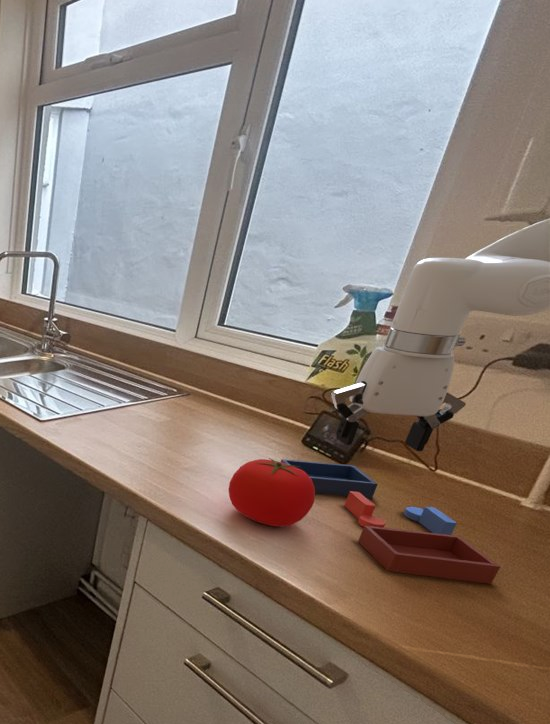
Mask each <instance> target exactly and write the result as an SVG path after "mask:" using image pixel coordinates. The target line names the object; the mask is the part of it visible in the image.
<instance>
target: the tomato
mask: <svg viewBox="0 0 550 724" xmlns="http://www.w3.org/2000/svg"><path fill="white" fill-rule="evenodd" d="M296 467H300V466H296ZM296 467H294V466H293V465H288V464H285V463H282V462H281V461H277V460H274V459H272V458H270V457H268V459H266V458H265V459H264V458H260V459H254V460H251V461H250V460H249V461H248V462H245V463H243V464H242V465H241V466H239V468H237V470H236V471H235V472H234V473H233V475H232V477H231V478H230V481H229V484H228V496H229V500H230V503H231V505H232V506H233V507H234V509H236V511H237V512H238V513H240V514H242V515H243V516H244V517H246V518H248V519H250V520H252V521H255V522H257V523H261V524H263V525H267V526H270V527H271V526H273V527H288V526H293V525H294V524H297V523H298V522H300V521H302V520H303V519H304V518H305V517H306V515H308V513H309V512H310V511H311V509H312V508H313V505H314V502H315V498H316V497H315V495H316V493H315V489H314V484H313V482H312V479H311V478H310V476H309V475H308V474H307V473H306V472H305V471H303V470H301V469H298V468H296Z"/></svg>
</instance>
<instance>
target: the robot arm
mask: <svg viewBox="0 0 550 724" xmlns="http://www.w3.org/2000/svg"><path fill="white" fill-rule="evenodd" d="M549 310H550V217H549V218H547V219H544V220H541V221H539V222H536V223H534V224H531V225H529V226H526V227H523V228H521V229H518V230H516V231H515V232H511V233H510V234H508V235H506V236H504V237H503V238H500V239H498V240H496V241H494V242H493V243H491V244H489V245H487V246H484V247H483V248H481V249H479V250H477V251H476V252H474V253H472V254H470V255H469V256H467V257H465V258H459V257H428V258H423V259H421V260H419V261H418V262H416V264H415V265H414V266H413V268H412V270H411V272H410V275H409V277H408V280H407V283H406V285H405V288H404V291H403V293H402V296H401V299H400V302H399V304H398V306H397V309H396V312H395V315H394V317H393V319H392V322H391V325H390V327H389V330H388V333H387V336H386V337H385V341H384V343H383V345H382V346H376V347H375V348H374V349H373V351H372V352H371V354H370V355H369V357H368V358H367V360H366V361H365V363H364V365H363V366H362V369H361V371H360V372H359V374H358V376H357V379H356V380H355V382H354V384H352V385H349V386H346V387H342V388H339V389H336V390H333V391H331V393H330V397H331V400H332V404H333V405H332V407H333V408H334V410H336V411H337V413H338V415H339V416H340V417H341V418H340V420H339V421H340V422H339V424H338V427H337V429H336V433H335V435H336V439H337V440H338V441H340V442H341V443H342V444H344V445H345V446H351V445H352V444H353V442H354V439H355V438H356V437H355V436H356V434H357V431H358V429H359V426H360V423H359V422H357V420H359V419H361V418H363V417H364V416H366V415H368V414H369V413H372V414H373V413H374V414H382V415H384V414H385V415H393V416H394V415H395V416H407V417H408V416H409V417H416V418H417V420H418V421H414V422H413V423H412V425H411V427H410V429H409V432H408V434H407V435H406V439H405V441H404V444H405V445H406V446H408V447H410V448H411V449H412V450H415V452H423V451H424V448H425V446H426V445H427V444H428V442H429V441H430V437H431V435H432V433H433V430H436V429H439V428H440V427H441V424H444V423H446V422H447V421H450V420H452V419H453V418H454V416H455V415H456V414H457V413H459V412H460V411H462V409H463V408H465V407H466V405H467V404H466V402H465V401H463V400H461V398H459V397H457V396H455V395H453V394H452V393H450V392H448V390H449V387H450V384H451V380H452V377H453V372H454V365H455V355H454V354H452V353H453V352H454V350H455V348H456V347H463V346H464V345H465V344H466V337H462V336H461V333H462V330H463V327H464V326H465V323H466V322H467V319H468V316H469V314H470V312H472V311H477V312H485V313H492V314H498V315H504V316H513V317H514V316H515V317H522V316H523V317H524V316H531V315H537V314H540V313H543V312H546V311H549ZM347 398H349V400H348V401H349V402H350V403H351V404H348V405H347V404H346V403H347V402H346V399H347ZM443 403H445V405H444V406H443V407H442V405H443ZM441 407H442V408H441Z"/></svg>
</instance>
